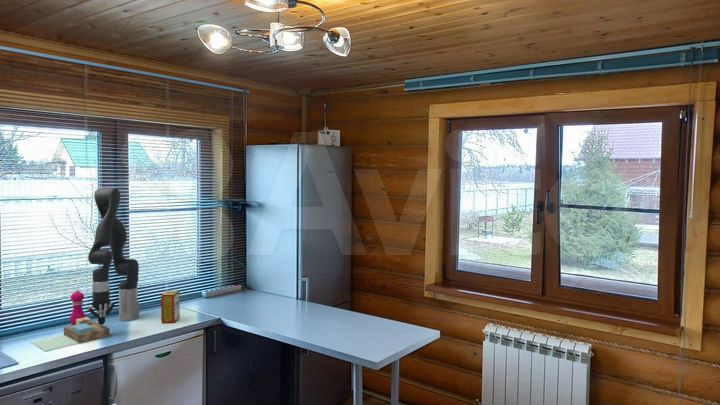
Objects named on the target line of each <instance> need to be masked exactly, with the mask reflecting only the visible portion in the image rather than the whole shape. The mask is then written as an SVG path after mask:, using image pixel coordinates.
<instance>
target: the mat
mask: <svg viewBox="0 0 720 405" xmlns="http://www.w3.org/2000/svg"><path fill="white" fill-rule="evenodd" d="M31 344H33V345H35V346H36V347H38V348H39V349H40V350H42V351H44V352H50V351H53V350H57V349H62V348H66V347H70V346H74V345H79V344H80V343H78V342H76V341H75V340H73V339H71V338H69V337H67V336H65V335H64V334H62V335H57V336H53V337H48V338H43V339H38V340H34V341H31Z"/></svg>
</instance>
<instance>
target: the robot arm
mask: <svg viewBox="0 0 720 405" xmlns="http://www.w3.org/2000/svg"><path fill="white" fill-rule="evenodd" d="M93 196H94V202H95V204H96V208H97V209H98V212H99V214H100V217H101V220H100V221H99V223H98V225H97V226H96V229H95V236H94V242H93V244H92V247H91V248H90V251H89V252H88V256H87V259H88V262H89V264H92V265H102V266H101V267H100V268H96V269H93V271H92V288H91V289H92V295H91V296H92V303H91V306H89V307H87V308H86V310H87V311H88V312H89V313H91V315H92V316H93V317H95V318H97V323H99V324H100V325H103V326H104V325H105V323H106V316H109V315H110V313H111V312H112V310H113V309H114V307H116V304H115V303H113V302H111V300H110V298H111V297H110V288H111V287H110V274H109V272H110V268H111V263H113V267H114V271H115V273H116V275H118V276H125V277H126V280H124V281H122V282H119V283H118V308H119V309H118V318H119V319H118V320H119V321H121V322H128V321H133V320H136V319H139V318H140V300H138V284H139V270H140V267H139V266H140V265H139V262H138V260H137V259H135V258H125V257H124V256H125V255H124V252H123V250H124V246H125V244H126V242H127V239H128V236H127V232H126V227H125V224H124V223H123V222H122V221H121V220H120V219H119V218H117V216H116V215H117V212H118V209H119V207H120V203H121V192H120V190H119V189H118V188H115V187H108V188H107V187H105V188H97V189H95V191H94V195H93ZM107 246H109V248H110V250H109V249H102V248H103V247H107ZM112 261H113V262H112ZM95 310H96V311H95Z"/></svg>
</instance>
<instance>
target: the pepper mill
mask: <svg viewBox="0 0 720 405" xmlns="http://www.w3.org/2000/svg"><path fill="white" fill-rule="evenodd" d="M84 299H85V295H84V293H83V292H81V291H80V289H79V288H77V289H75V290H74V292H73V293H72V294H71V295H70V301H71V305H72V312H71V315H70V316H69V321H70V323H71V325H70V326H73V325H76V319H79V318H84V317H87V316H86V314H85V312H84V310H83V304H84V301H83V300H84Z"/></svg>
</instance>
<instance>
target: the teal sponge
mask: <svg viewBox="0 0 720 405" xmlns="http://www.w3.org/2000/svg"><path fill="white" fill-rule="evenodd" d="M72 330H73V331H75V332H77V333H79V334H82V333H86V332H91V331H93V327H92V326H90V325H88V324H86V323H84V324H79V325H74V326H72Z"/></svg>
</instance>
